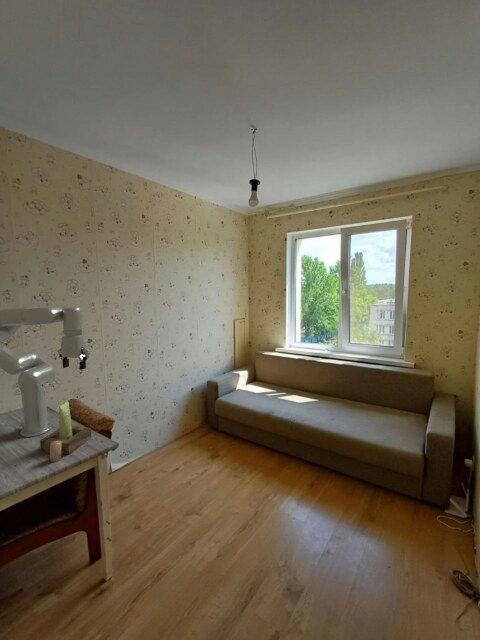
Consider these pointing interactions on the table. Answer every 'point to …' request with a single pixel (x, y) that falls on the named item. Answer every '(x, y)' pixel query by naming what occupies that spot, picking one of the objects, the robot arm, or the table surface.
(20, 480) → the table surface
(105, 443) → the table surface
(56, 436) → the square wooden frame
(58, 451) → the short stub
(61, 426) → the tube
